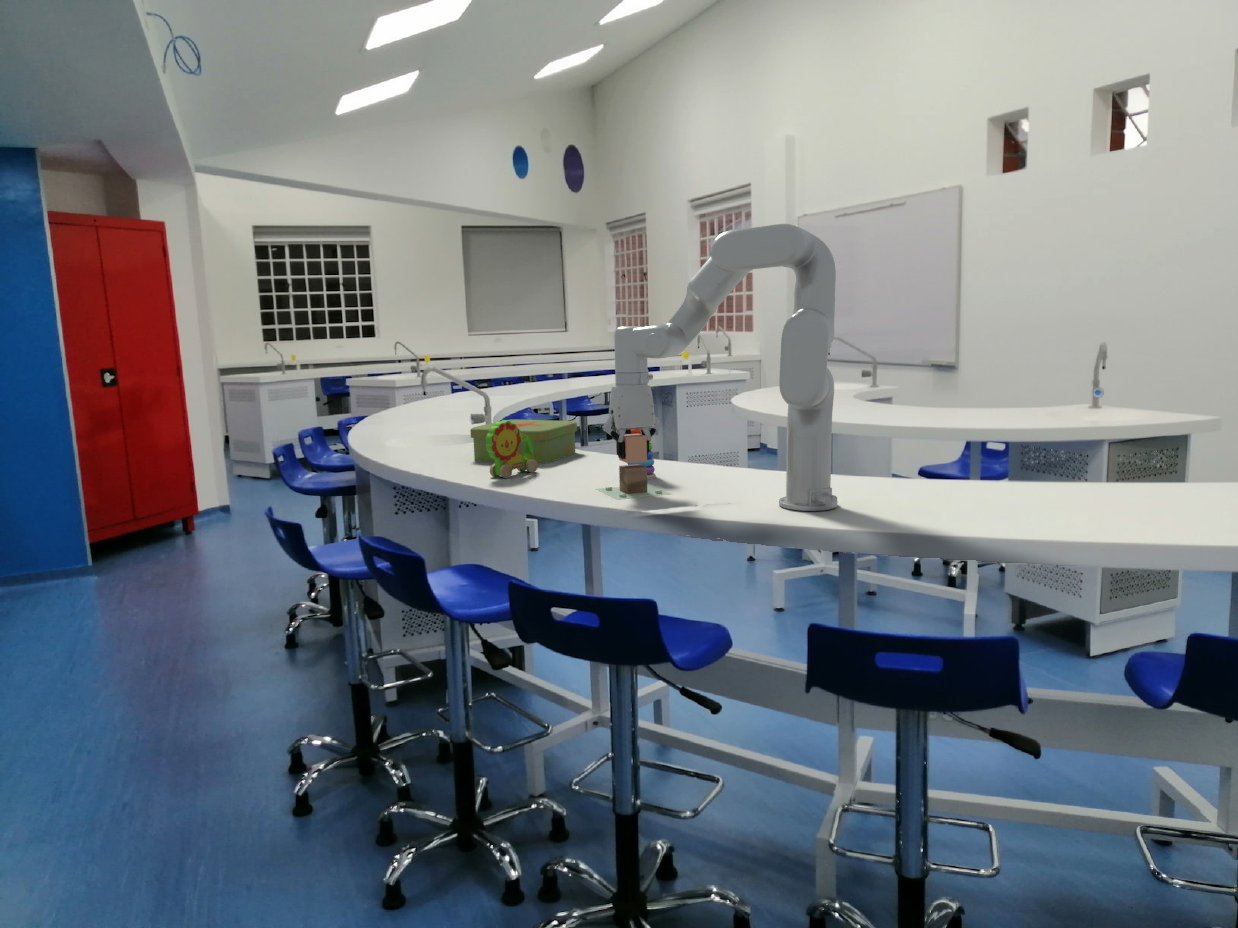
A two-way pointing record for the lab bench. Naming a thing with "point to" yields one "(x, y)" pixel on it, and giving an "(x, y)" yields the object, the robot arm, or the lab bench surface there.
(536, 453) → the first aid kit
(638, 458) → the rust block
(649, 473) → the stacking toy
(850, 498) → the lab bench surface
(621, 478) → the walnut block
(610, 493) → the build plate
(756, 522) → the lab bench surface
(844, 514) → the lab bench surface
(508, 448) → the toy lion
